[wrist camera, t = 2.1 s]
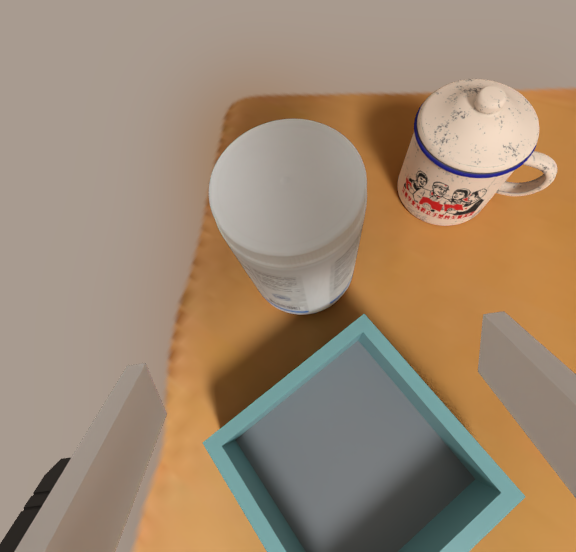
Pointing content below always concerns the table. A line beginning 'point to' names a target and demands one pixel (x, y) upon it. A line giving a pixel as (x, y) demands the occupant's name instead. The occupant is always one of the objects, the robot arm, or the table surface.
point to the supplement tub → (292, 211)
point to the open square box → (359, 458)
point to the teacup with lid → (470, 151)
